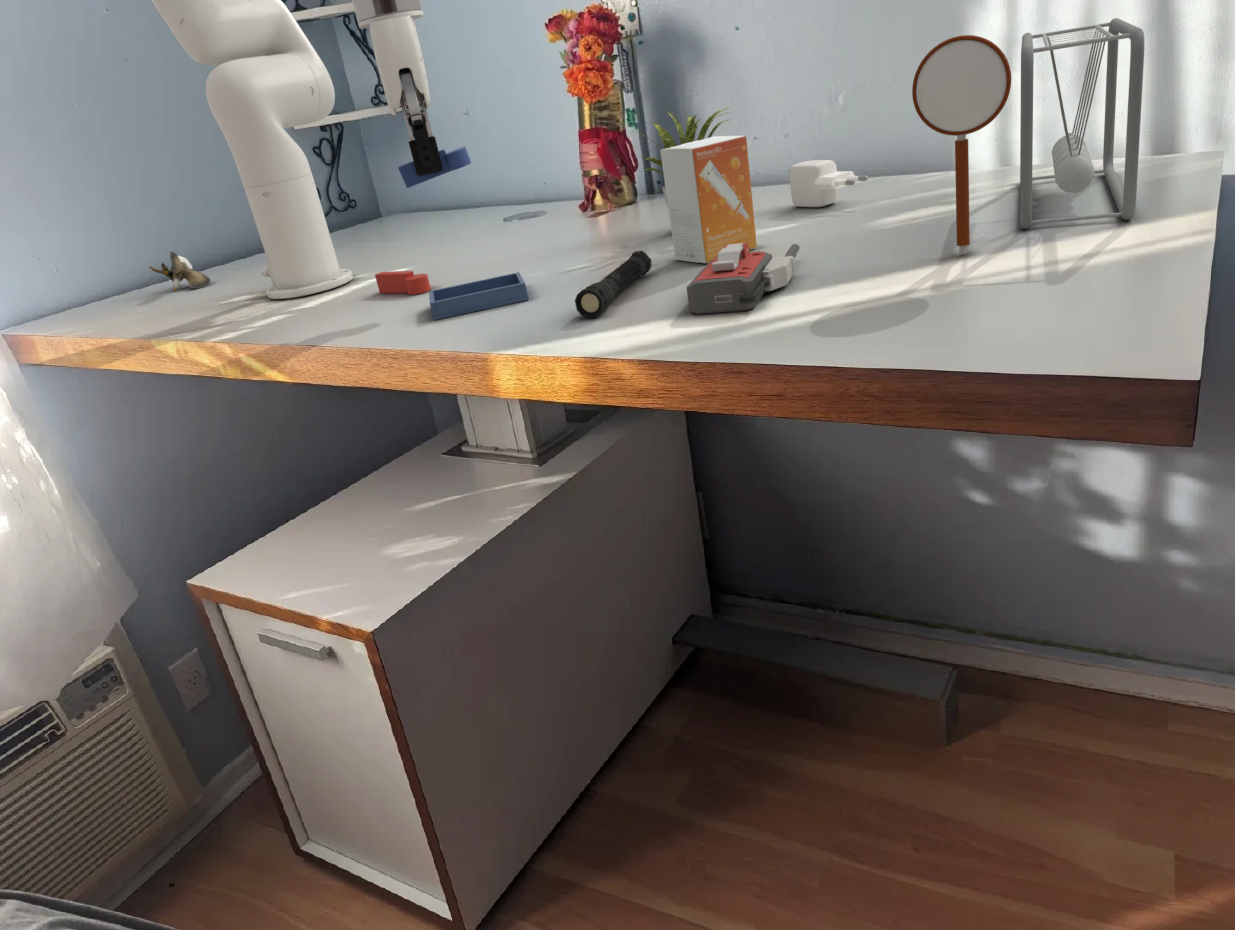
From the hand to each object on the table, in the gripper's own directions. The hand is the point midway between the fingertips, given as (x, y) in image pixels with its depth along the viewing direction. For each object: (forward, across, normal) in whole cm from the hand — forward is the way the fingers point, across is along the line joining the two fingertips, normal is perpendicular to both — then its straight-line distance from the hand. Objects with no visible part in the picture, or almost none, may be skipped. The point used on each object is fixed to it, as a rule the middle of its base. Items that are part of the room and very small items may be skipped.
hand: (429, 171), depth 113 cm
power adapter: (+15, -2, +52) cm, 54 cm away
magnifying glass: (+16, +37, +49) cm, 63 cm away
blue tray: (+15, +12, +2) cm, 19 cm away
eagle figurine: (+14, -50, -45) cm, 69 cm away
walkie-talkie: (+16, +31, +28) cm, 45 cm away
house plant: (+15, -5, +35) cm, 38 cm away
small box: (+15, +13, +31) cm, 37 cm away
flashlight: (+15, +22, +16) cm, 32 cm away
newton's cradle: (+16, +25, +70) cm, 75 cm away
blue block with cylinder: (+1, 0, +1) cm, 1 cm away
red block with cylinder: (+14, -5, -7) cm, 17 cm away
